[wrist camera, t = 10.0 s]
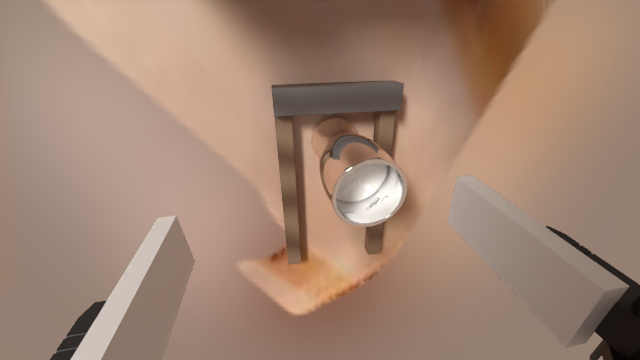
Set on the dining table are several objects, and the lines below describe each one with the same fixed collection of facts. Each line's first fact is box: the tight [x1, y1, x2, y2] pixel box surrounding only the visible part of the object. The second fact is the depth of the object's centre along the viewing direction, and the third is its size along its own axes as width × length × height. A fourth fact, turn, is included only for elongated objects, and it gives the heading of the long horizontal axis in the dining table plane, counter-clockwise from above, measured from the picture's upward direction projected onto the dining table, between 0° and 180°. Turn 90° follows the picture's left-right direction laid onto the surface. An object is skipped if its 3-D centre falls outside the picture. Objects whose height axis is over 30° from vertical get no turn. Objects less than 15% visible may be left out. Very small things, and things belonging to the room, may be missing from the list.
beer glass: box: [312, 118, 407, 227], centre depth 29 cm, size 7×7×15 cm
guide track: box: [272, 81, 404, 265], centre depth 37 cm, size 26×15×3 cm, turn 1°
